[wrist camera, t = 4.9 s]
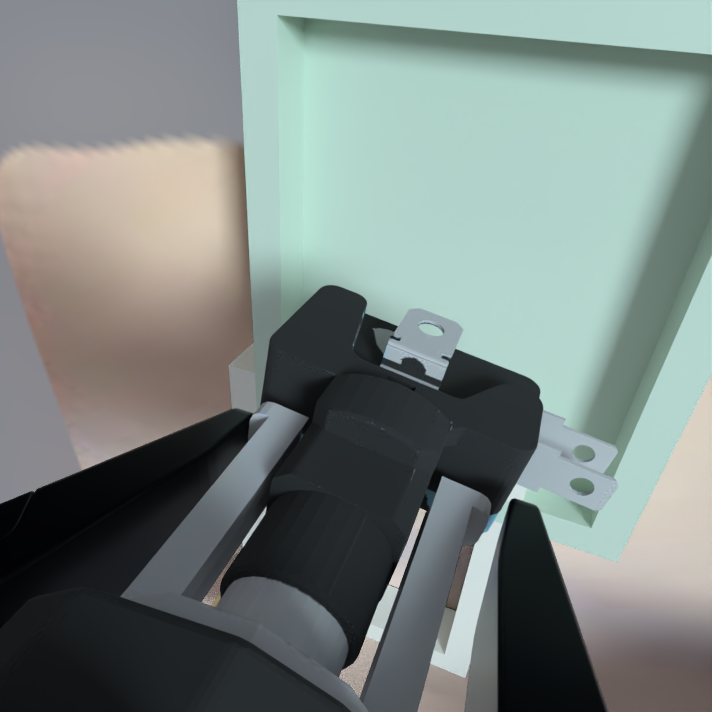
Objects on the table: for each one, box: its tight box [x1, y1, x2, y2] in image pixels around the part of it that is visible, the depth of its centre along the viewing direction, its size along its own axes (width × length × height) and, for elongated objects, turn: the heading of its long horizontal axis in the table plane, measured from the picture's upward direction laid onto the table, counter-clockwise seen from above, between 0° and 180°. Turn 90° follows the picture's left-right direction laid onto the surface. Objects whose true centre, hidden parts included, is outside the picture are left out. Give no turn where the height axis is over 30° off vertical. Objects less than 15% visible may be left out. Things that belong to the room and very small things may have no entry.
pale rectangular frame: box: [228, 343, 527, 678], centre depth 21 cm, size 10×12×2 cm
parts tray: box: [237, 0, 712, 562], centre depth 15 cm, size 12×14×2 cm
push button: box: [0, 285, 619, 712], centre depth 8 cm, size 7×5×10 cm
